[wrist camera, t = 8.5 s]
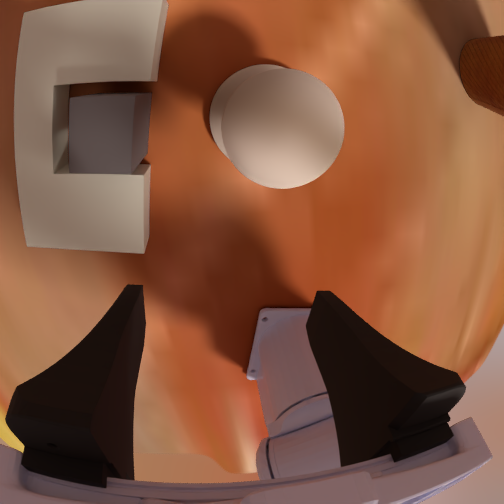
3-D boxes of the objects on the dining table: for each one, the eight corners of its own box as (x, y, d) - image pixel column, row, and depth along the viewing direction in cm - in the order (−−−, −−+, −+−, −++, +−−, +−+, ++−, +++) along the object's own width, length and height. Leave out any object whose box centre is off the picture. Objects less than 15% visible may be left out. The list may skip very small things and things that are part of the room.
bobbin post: (306, 174, 21) (336, 204, 16) (203, 163, 20) (203, 192, 15) (325, 76, 18) (364, 77, 13) (217, 58, 17) (221, 48, 12)
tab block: (147, 153, 19) (131, 174, 15) (97, 152, 18) (69, 173, 14) (152, 92, 17) (135, 95, 13) (100, 93, 16) (69, 97, 12)
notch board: (149, 236, 22) (144, 253, 20) (40, 230, 20) (27, 246, 18) (168, 4, 14) (163, -6, 12) (41, 17, 12) (23, 12, 10)
